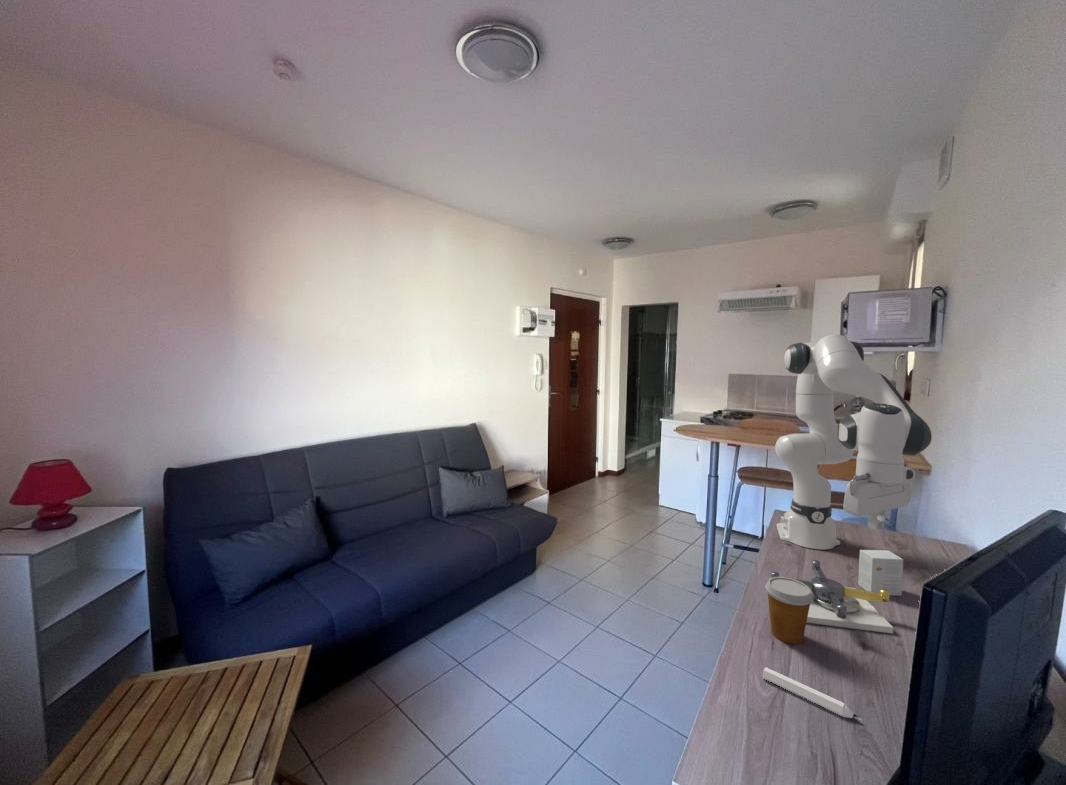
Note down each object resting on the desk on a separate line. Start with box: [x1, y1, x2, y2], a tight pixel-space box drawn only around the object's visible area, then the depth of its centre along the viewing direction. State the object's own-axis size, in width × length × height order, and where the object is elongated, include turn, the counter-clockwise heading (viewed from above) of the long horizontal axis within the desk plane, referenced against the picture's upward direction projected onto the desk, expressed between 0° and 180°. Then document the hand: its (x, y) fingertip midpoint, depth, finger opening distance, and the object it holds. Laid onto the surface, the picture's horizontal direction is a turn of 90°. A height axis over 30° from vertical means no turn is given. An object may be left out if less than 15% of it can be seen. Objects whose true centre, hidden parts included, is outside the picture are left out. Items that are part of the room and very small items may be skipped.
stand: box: [806, 586, 894, 634], centre depth 111 cm, size 18×20×4 cm
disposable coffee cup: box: [764, 576, 813, 645], centre depth 99 cm, size 10×10×12 cm
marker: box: [762, 666, 863, 721], centre depth 80 cm, size 3×2×16 cm
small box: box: [858, 549, 904, 597], centre depth 118 cm, size 8×6×10 cm
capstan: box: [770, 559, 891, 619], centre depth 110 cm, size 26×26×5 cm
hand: (875, 528), depth 103 cm, fingers closed
